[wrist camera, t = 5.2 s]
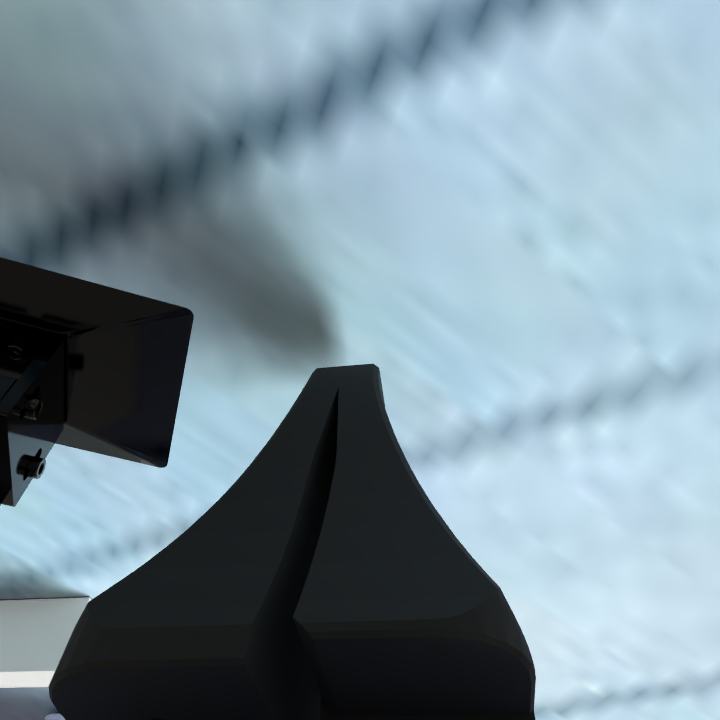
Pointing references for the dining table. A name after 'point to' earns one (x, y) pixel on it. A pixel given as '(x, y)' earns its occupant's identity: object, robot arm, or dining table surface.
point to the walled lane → (35, 638)
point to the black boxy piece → (84, 372)
